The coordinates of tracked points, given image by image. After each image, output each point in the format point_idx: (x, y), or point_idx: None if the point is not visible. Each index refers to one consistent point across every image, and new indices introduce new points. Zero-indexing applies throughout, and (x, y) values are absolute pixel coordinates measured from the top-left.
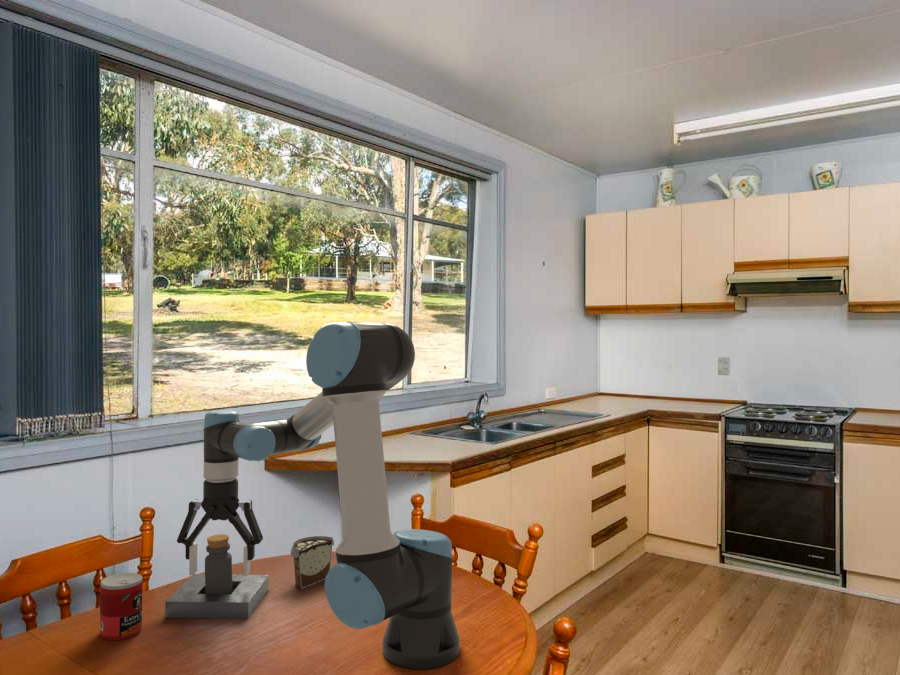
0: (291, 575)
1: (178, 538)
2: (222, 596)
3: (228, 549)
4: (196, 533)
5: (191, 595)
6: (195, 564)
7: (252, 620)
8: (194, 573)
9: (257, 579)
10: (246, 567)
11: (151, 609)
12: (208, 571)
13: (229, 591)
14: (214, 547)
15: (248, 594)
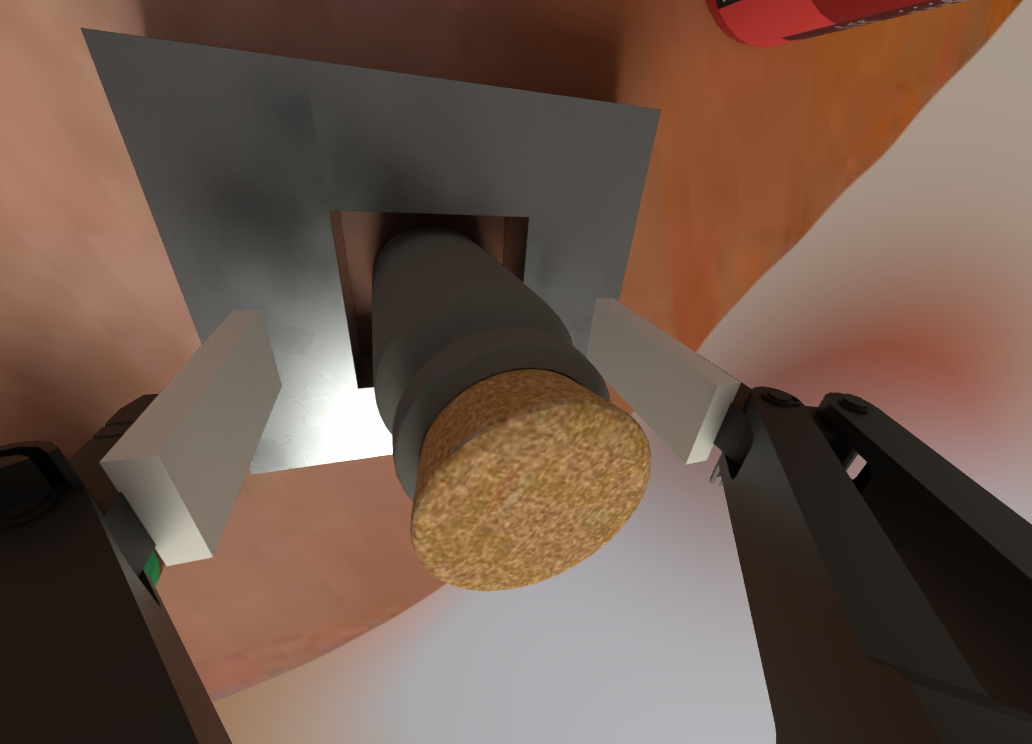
0: (247, 546)
1: (879, 416)
2: (369, 176)
3: (392, 427)
4: (803, 481)
5: (550, 196)
6: (612, 358)
7: (94, 17)
8: (591, 325)
9: (281, 419)
10: (210, 339)
11: (674, 211)
12: (509, 273)
13: (374, 281)
14: (528, 371)
15: (197, 206)
